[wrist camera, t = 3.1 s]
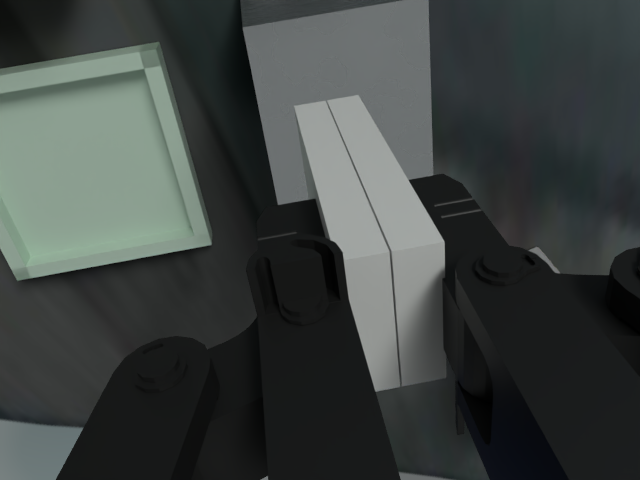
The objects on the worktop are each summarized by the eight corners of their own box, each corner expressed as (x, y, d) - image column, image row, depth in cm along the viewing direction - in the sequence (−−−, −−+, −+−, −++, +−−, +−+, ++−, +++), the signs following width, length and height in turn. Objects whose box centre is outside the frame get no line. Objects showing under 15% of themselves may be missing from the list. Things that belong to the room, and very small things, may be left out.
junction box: (269, 138, 40) (287, 259, 27) (235, -35, 34) (238, 17, 21) (387, 117, 40) (459, 227, 27) (374, -58, 34) (459, -21, 21)
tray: (24, 266, 42) (17, 280, 41) (-71, 80, 35) (-84, 89, 33) (212, 232, 43) (211, 244, 41) (159, 41, 35) (155, 49, 34)
